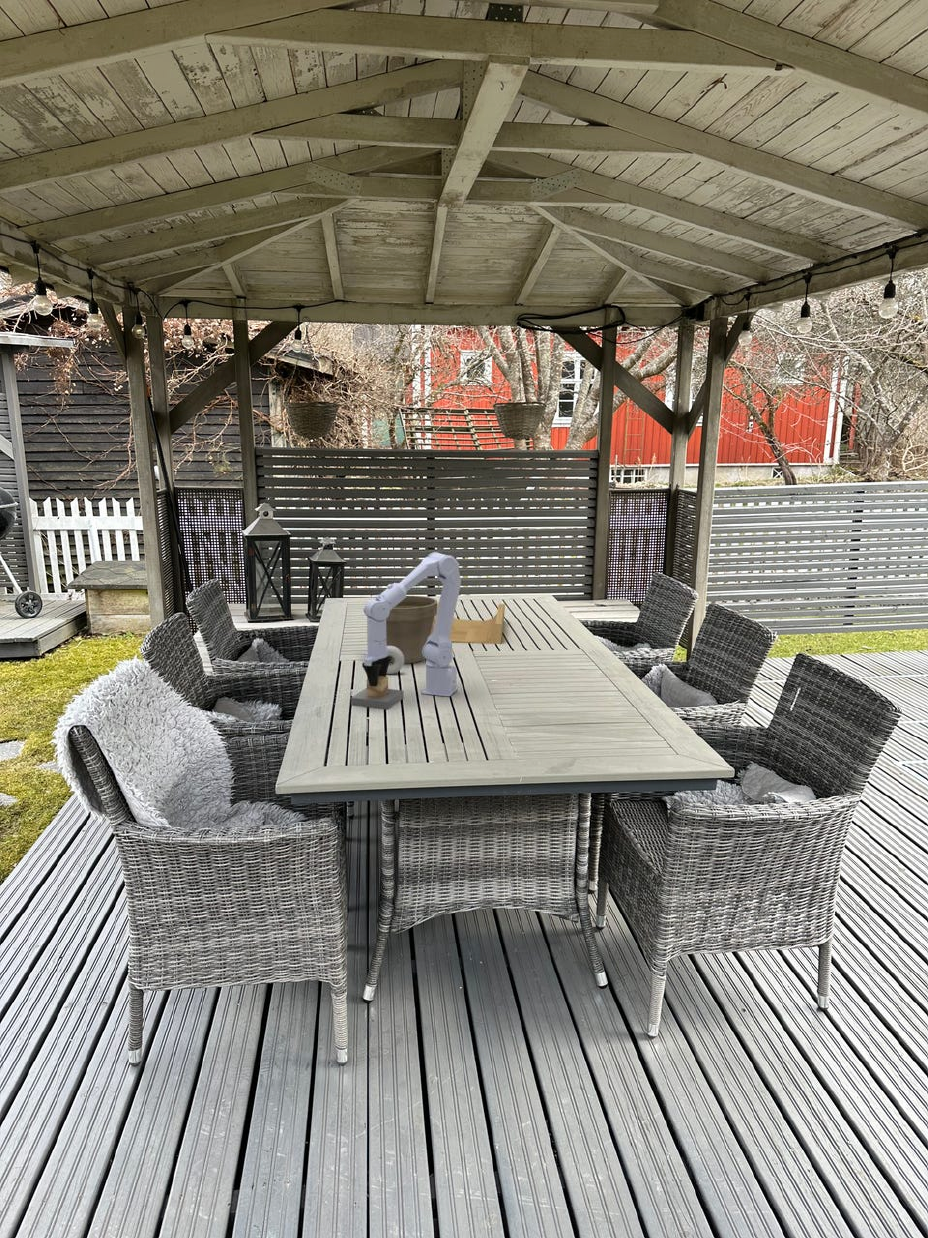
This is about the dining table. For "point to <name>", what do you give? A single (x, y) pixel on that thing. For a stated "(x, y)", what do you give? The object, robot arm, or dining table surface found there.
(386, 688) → the oak cube
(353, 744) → the dining table surface
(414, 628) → the plant pot
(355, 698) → the slate block
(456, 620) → the skate ramp
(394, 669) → the donut
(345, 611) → the dining table surface
